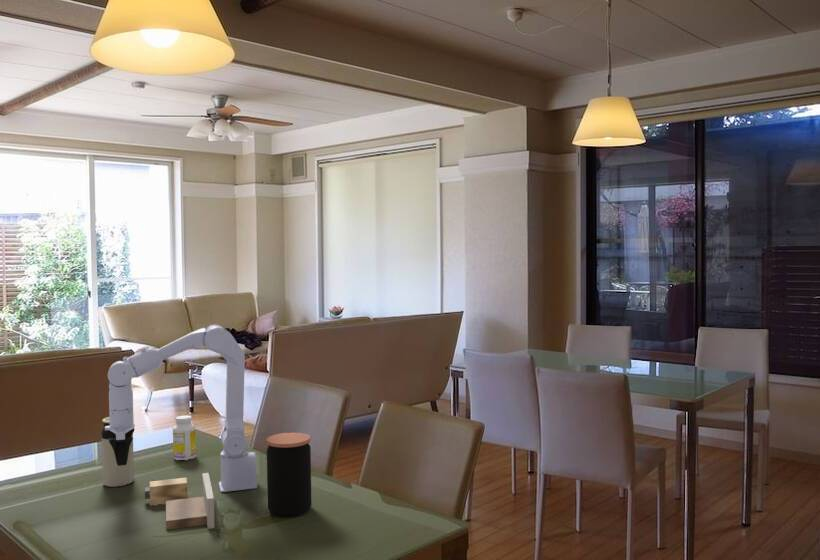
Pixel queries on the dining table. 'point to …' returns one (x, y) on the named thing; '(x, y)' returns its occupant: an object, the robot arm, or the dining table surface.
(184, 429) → the supplement bottle
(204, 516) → the brown rectangular panel
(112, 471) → the travel mug
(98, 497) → the dining table surface
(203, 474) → the shelf board
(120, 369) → the robot arm
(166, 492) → the tan rectangular block
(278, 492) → the coffee jar
